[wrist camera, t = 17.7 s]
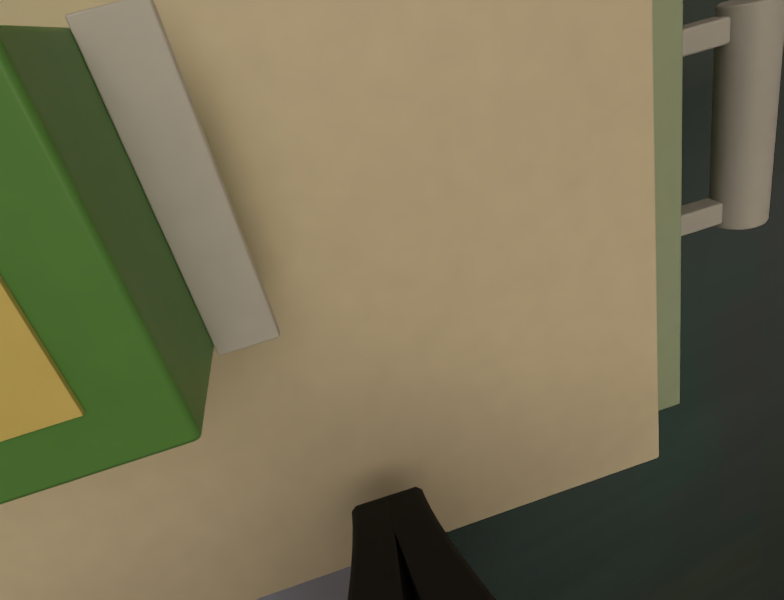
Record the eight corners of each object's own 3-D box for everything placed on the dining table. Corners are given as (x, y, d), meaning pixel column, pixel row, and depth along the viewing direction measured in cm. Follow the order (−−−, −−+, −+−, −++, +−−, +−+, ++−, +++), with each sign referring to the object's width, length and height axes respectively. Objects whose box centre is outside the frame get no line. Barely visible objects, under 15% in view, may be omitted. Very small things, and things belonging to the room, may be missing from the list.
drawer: (667, -142, 15) (908, -246, 9) (668, 269, 21) (820, 355, 15) (-46, 39, 13) (-261, 42, 8) (167, 430, 19) (130, 594, 13)
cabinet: (465, -114, 15) (651, -249, 8) (525, 316, 21) (660, 457, 14) (-138, 36, 14) (-566, 38, 7) (115, 448, 20) (35, 678, 13)
